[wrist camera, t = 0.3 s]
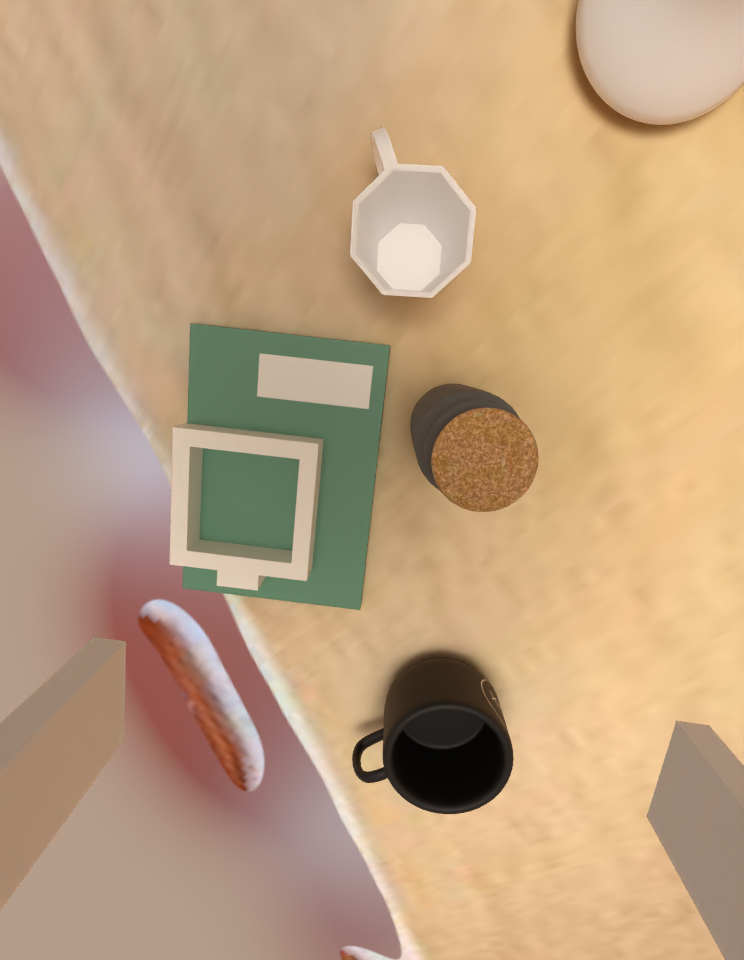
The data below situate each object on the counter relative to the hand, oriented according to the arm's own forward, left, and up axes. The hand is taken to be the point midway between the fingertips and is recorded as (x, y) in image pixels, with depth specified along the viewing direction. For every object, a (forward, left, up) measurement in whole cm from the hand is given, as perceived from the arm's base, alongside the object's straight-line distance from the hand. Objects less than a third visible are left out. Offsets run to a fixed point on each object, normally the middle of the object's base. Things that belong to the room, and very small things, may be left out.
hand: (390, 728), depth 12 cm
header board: (0, -8, -27) cm, 28 cm away
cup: (-17, -1, -27) cm, 32 cm away
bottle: (-5, +4, -27) cm, 28 cm away
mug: (+18, +5, -27) cm, 33 cm away
